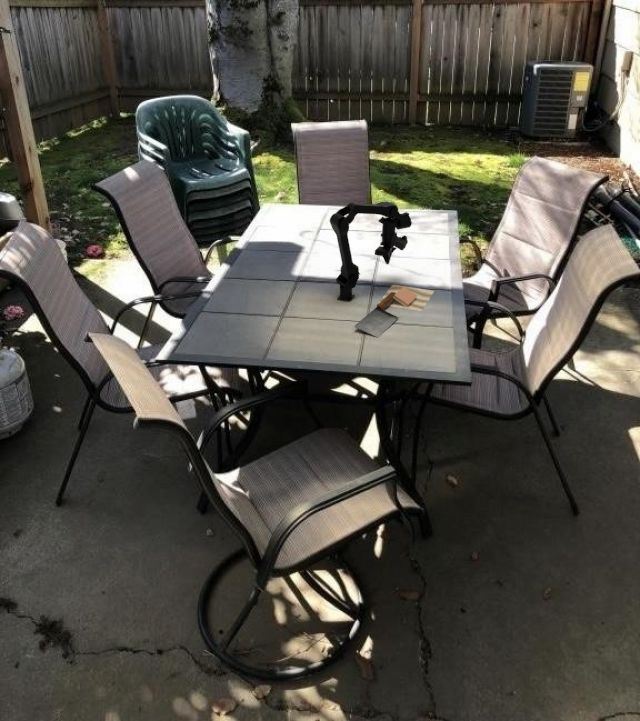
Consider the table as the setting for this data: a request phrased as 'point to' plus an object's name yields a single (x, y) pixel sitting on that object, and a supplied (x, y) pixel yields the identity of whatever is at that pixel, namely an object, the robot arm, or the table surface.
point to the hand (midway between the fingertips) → (387, 263)
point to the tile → (405, 296)
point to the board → (418, 303)
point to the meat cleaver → (378, 318)
